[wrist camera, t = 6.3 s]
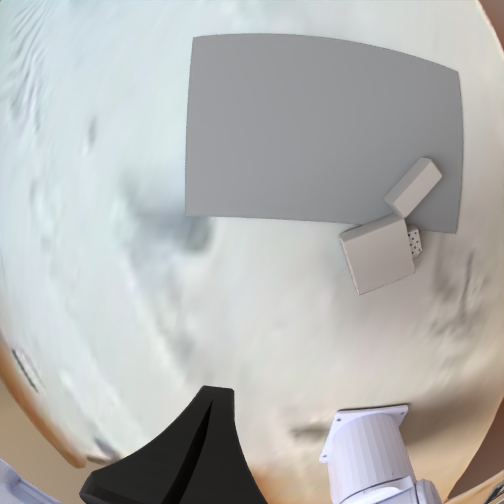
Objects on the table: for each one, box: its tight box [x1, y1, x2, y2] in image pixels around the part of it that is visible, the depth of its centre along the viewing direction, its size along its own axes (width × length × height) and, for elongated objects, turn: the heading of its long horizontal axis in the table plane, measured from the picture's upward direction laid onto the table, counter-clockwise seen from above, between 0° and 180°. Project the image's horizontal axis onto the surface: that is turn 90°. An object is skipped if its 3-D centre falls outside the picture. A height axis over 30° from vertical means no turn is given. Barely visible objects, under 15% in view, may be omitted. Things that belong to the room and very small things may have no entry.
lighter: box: [339, 158, 442, 295], centre depth 17 cm, size 7×2×8 cm
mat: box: [185, 34, 463, 234], centre depth 17 cm, size 13×20×1 cm, turn 88°
